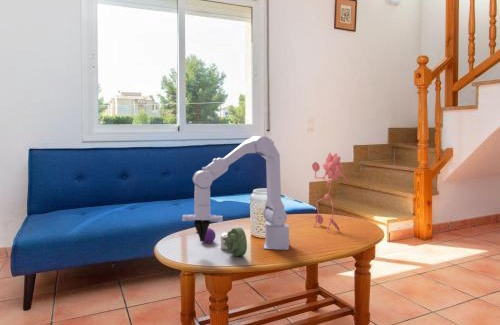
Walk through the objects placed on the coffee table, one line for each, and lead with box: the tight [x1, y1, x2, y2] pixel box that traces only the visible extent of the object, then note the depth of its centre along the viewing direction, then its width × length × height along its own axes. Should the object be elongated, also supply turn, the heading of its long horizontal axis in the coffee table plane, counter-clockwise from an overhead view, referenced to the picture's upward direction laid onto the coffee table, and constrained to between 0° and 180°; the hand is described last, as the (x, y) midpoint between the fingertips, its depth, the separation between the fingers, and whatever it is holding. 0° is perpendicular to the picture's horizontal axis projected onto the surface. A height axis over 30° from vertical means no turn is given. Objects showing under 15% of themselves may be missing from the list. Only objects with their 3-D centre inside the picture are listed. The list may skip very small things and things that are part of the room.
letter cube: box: [220, 232, 228, 250], centre depth 146 cm, size 5×5×5 cm
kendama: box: [195, 227, 216, 244], centre depth 159 cm, size 6×6×20 cm
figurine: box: [311, 152, 351, 236], centre depth 173 cm, size 15×26×35 cm, turn 28°
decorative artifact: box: [223, 227, 248, 257], centre depth 136 cm, size 10×7×10 cm
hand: (202, 240), depth 137 cm, fingers closed
